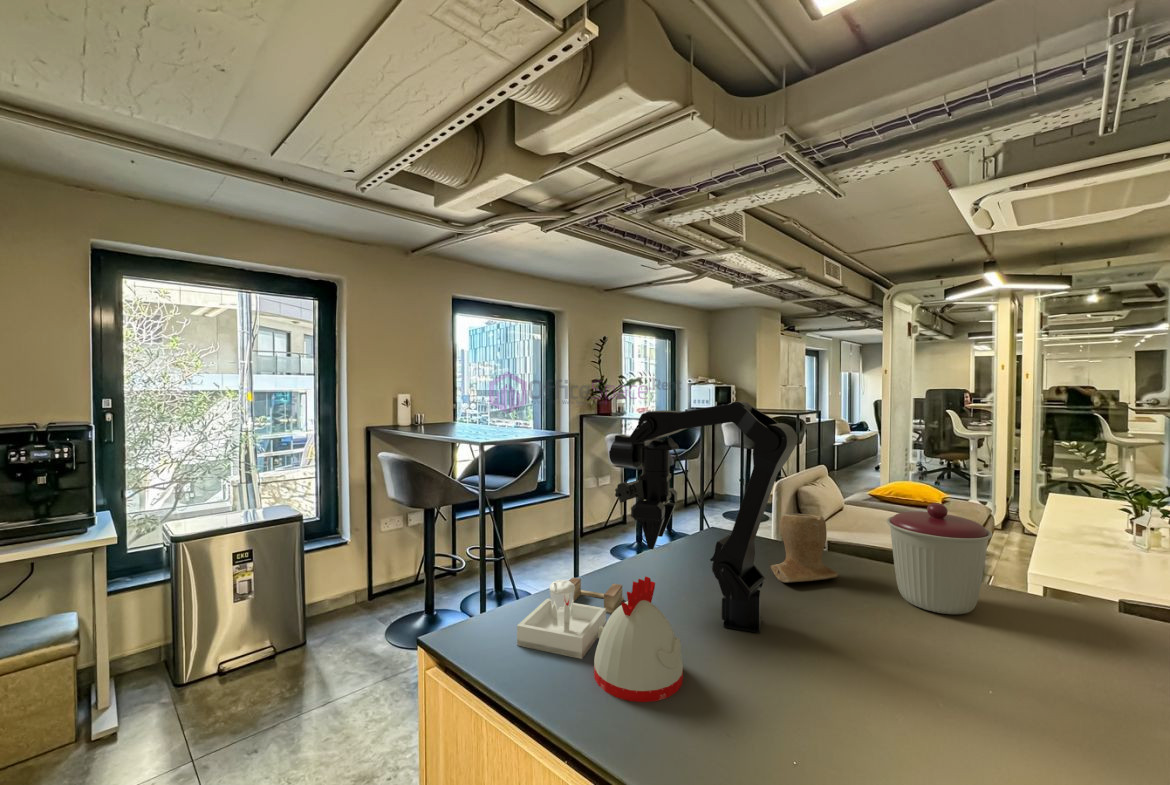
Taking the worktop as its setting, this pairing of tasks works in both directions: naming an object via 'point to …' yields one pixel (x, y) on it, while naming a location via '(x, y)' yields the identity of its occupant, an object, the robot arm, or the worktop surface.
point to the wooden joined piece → (601, 595)
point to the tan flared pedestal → (803, 549)
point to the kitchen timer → (638, 650)
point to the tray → (575, 644)
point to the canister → (938, 559)
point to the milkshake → (562, 605)
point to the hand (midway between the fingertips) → (655, 542)
